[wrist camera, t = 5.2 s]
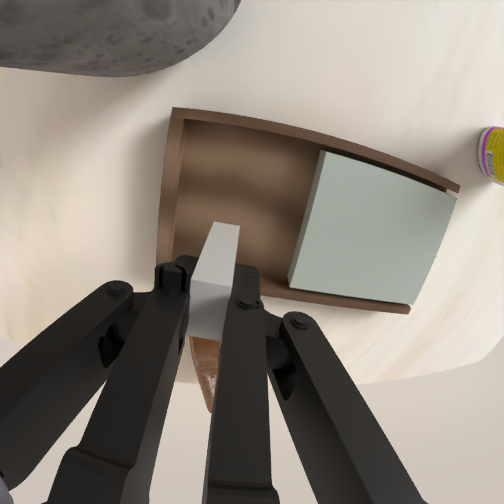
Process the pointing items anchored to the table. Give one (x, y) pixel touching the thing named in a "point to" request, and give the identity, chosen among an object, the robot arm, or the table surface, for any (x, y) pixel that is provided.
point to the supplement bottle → (492, 154)
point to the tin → (206, 365)
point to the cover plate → (368, 232)
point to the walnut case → (255, 193)
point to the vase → (107, 34)
